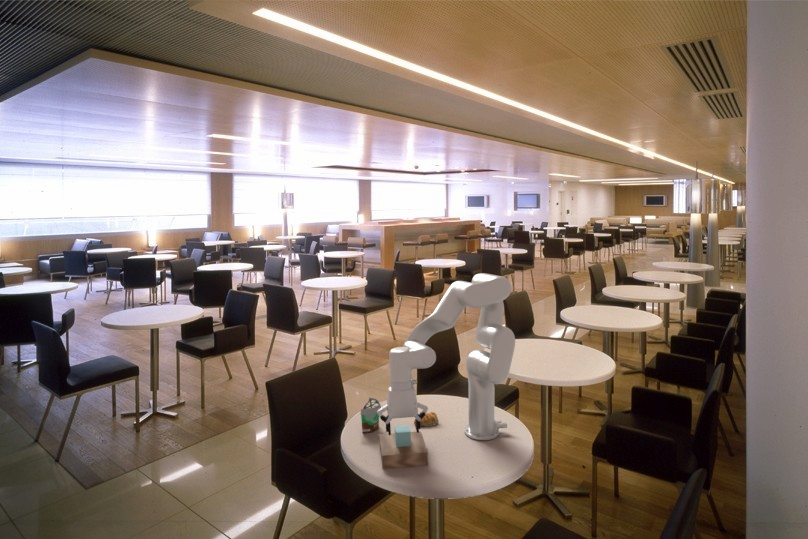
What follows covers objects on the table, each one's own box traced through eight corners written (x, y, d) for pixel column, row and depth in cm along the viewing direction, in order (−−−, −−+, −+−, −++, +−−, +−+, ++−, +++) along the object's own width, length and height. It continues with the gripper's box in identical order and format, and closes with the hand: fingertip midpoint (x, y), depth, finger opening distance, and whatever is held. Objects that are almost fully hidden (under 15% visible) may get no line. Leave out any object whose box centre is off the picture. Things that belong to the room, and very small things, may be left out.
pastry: (418, 429, 183) (418, 420, 183) (410, 422, 189) (410, 413, 189) (440, 424, 187) (439, 415, 187) (431, 417, 193) (431, 408, 193)
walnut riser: (421, 443, 172) (421, 431, 172) (427, 465, 157) (427, 452, 157) (379, 446, 171) (379, 434, 170) (382, 468, 156) (382, 455, 155)
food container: (377, 436, 178) (376, 410, 177) (361, 435, 179) (360, 409, 178) (385, 421, 190) (384, 397, 189) (370, 420, 191) (369, 396, 190)
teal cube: (409, 439, 166) (408, 425, 166) (410, 445, 161) (410, 431, 161) (394, 440, 166) (394, 426, 165) (396, 447, 161) (395, 432, 160)
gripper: (425, 378, 165) (426, 425, 168) (375, 382, 164) (377, 429, 166) (428, 386, 158) (430, 435, 160) (376, 390, 156) (378, 439, 159)
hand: (403, 432), depth 163 cm, fingers open, 9 cm apart
